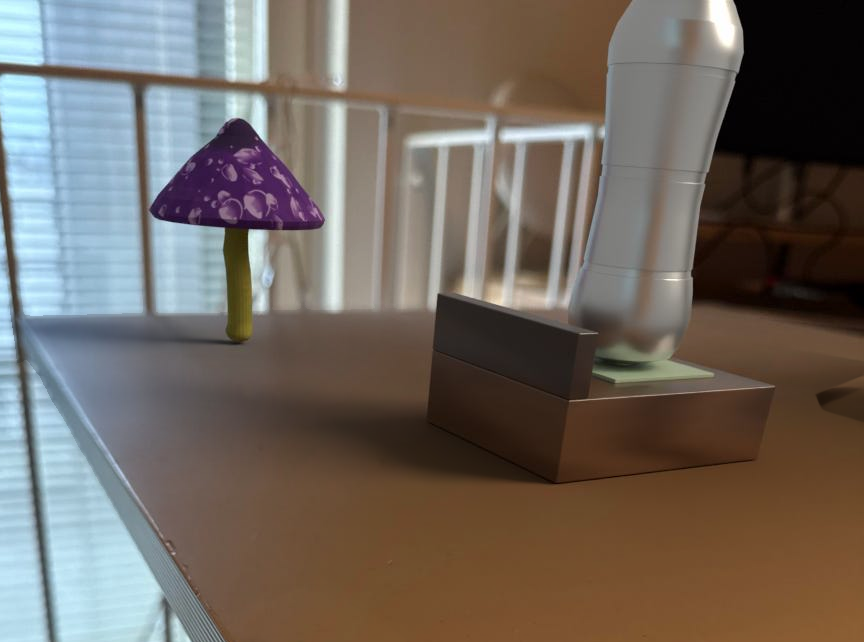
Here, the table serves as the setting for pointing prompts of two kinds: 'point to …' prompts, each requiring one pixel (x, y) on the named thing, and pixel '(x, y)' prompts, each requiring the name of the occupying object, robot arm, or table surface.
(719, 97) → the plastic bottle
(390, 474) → the table surface
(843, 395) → the table surface
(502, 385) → the metal stand with backrest
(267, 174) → the decorative mushroom
